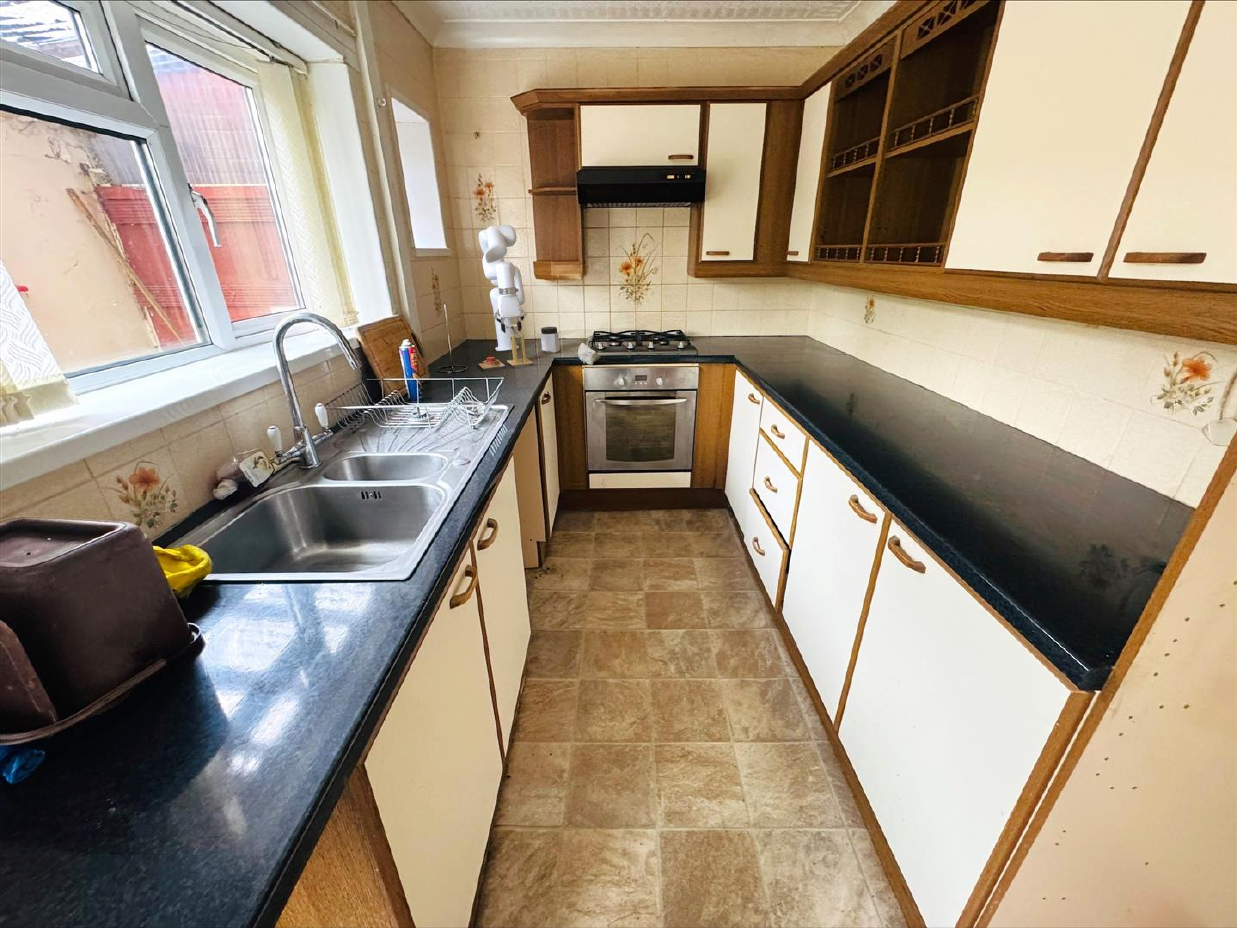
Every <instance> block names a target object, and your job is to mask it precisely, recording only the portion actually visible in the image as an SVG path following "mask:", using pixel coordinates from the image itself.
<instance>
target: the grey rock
mask: <svg viewBox="0 0 1237 928" xmlns="http://www.w3.org/2000/svg"><path fill="white" fill-rule="evenodd" d="M577 356H578V359H579V360H580V361H581V362H582V363H583V364H584V365H586V364H587V365H589V366H593V365H594V363H596V362H597V361H598V360H599V359H600V357H601V356H600V355H599V353H598V352H597V351H595V350H594V349H593V348H591V347H590V346H589V345H587V344H586V343H584V342H581V344H580V345H579V347H578V349H577Z"/></svg>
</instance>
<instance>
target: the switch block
mask: <svg viewBox="0 0 1237 928" xmlns="http://www.w3.org/2000/svg"><path fill="white" fill-rule="evenodd" d="M495 360H496V361H494V362H487V360H486V359H485V360H483V361H482V362H480V363H478V365H479V366H480V367H481V368H482V369H483V370H485V369H493V368H501V367H506V365H505V364H504V363H503V362H502V361H500V359H497V358H495Z"/></svg>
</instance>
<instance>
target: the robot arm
mask: <svg viewBox="0 0 1237 928" xmlns="http://www.w3.org/2000/svg"><path fill="white" fill-rule="evenodd" d="M477 236H478V241H479V242H478V243H479V247H480V249H481V251H482V253H483V256H482V260H481V261H482V262H481V263H482V268H483V273H484V276H485V278H486V279H487V280H489V281H490V284H492V285H493V286H494V288H492V289H491V290H490V291H489V298H490V303H491V306H492V310H493V315H492V317H493V318H494V324H495V333H496V339H497V340H496V341H497V346H496V347H495V351H496V352H502V351H512V344H511V339H510V338H511V336H510V334H513V332H512V330H511V328H506V325H514V324H515V322H514V318H515V319H516V321H517V322H516V325H517V327H516V328H517V331H518V332H522V330H523V326H522V322H523V321H524V319H525V317H526V316H527V314H528V313H527V312H526V311H525V310H523V308H521V306H522V305H524V304H525V301H526V298H525V290H524V284H523V279H522V274H521V270H520V268H519V267H517V266H515V265H514V264H513V262H511V261H505V259H504V257H506V255H507V254H508V248H510V247H513V246H514V245H515V244H516V243H517V232H516V230H515V228H514V226H512V225H510V224H501V225H499V224H498V225H496V224H495V225H490V226H488V227H486V229H483V230H480V231H479V232H478V235H477ZM513 335H514V334H513ZM516 350H520V345H518V344H516Z"/></svg>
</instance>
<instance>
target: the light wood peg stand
mask: <svg viewBox="0 0 1237 928" xmlns="http://www.w3.org/2000/svg"><path fill="white" fill-rule="evenodd" d="M518 334H519V335H520V342H519V349H520V355H521V358H518V353H517V350H518V349H516V345H517V342H516V341H515V335H513V334H510V336H511V338H510V339H511V344H512V350H511V351H512V359H509V360H506V362H507V363H508V364H510V365H511V366H513V367H514V366H521V365H528V364H535V363H534V361H532V360H531V359H529V358H528V357H527V354H526V346H525V345H526V343H525V336H524V333H521V332H519V333H518Z"/></svg>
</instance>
